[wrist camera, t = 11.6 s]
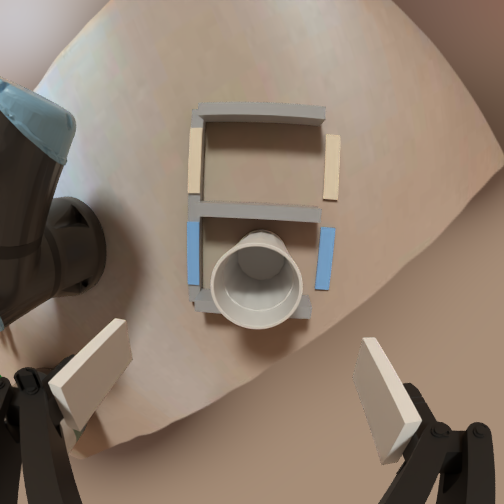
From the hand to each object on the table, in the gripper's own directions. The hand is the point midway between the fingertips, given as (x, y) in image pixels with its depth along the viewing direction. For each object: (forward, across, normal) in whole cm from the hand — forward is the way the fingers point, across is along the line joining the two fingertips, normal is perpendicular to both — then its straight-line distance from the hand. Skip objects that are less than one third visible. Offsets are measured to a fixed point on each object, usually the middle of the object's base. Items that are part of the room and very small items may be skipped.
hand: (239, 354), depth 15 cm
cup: (+22, 0, 0) cm, 23 cm away
